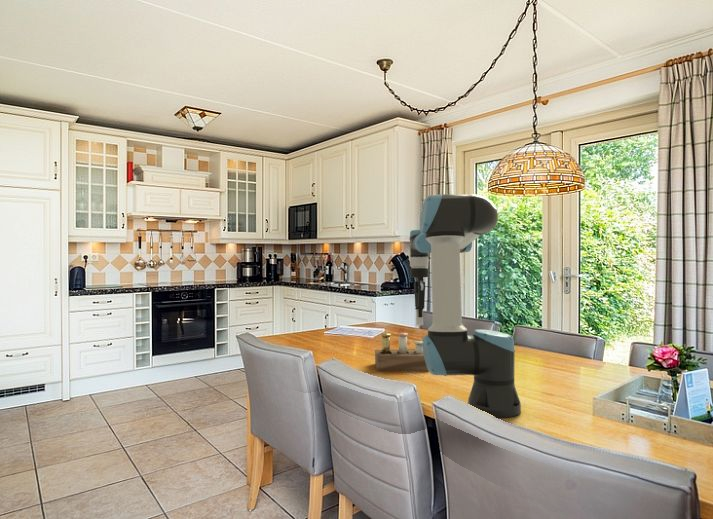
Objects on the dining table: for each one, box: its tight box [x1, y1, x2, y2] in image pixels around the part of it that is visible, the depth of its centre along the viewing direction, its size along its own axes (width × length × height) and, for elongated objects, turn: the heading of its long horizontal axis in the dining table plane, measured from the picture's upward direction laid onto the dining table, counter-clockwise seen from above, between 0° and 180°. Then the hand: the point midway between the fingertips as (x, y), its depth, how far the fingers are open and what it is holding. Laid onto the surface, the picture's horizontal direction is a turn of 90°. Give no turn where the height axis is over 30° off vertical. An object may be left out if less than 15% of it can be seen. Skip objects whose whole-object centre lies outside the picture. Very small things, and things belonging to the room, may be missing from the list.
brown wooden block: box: [374, 348, 429, 372], centre depth 187 cm, size 12×22×6 cm, turn 92°
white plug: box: [397, 332, 409, 354], centre depth 187 cm, size 4×4×9 cm
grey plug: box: [414, 340, 423, 353], centre depth 187 cm, size 4×4×9 cm
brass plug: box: [380, 332, 392, 354], centre depth 187 cm, size 4×4×9 cm
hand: (419, 324), depth 187 cm, fingers closed
